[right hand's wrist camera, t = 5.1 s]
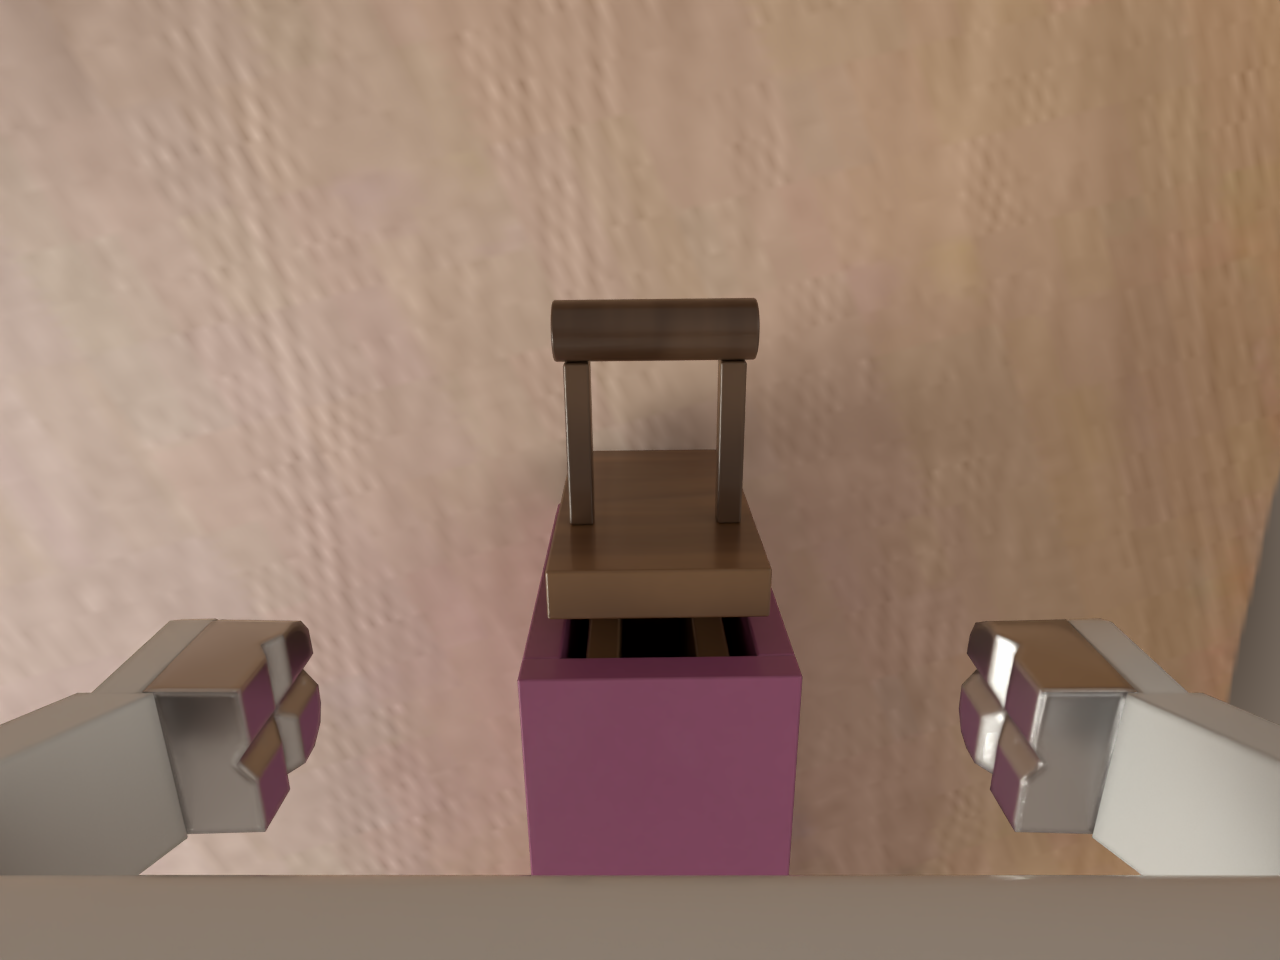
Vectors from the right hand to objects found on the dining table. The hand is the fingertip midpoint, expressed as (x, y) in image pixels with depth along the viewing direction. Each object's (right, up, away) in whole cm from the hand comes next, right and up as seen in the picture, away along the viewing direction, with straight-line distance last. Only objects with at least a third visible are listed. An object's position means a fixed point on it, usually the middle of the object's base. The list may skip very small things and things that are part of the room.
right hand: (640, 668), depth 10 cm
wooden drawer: (0, -3, +18) cm, 18 cm away
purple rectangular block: (0, -8, +20) cm, 22 cm away
